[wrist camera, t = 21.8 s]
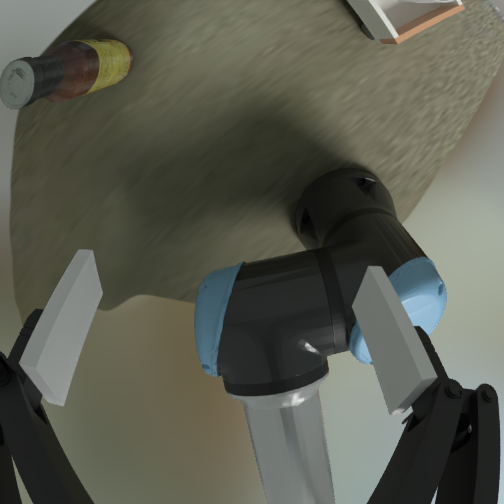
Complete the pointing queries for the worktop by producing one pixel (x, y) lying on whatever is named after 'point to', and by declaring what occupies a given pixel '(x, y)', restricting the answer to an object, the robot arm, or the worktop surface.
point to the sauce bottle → (65, 72)
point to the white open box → (400, 17)
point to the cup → (427, 1)
